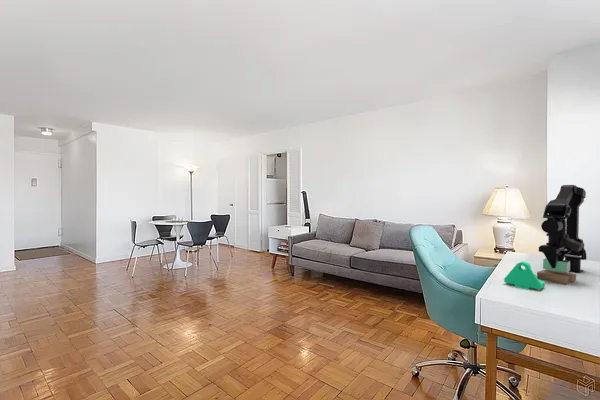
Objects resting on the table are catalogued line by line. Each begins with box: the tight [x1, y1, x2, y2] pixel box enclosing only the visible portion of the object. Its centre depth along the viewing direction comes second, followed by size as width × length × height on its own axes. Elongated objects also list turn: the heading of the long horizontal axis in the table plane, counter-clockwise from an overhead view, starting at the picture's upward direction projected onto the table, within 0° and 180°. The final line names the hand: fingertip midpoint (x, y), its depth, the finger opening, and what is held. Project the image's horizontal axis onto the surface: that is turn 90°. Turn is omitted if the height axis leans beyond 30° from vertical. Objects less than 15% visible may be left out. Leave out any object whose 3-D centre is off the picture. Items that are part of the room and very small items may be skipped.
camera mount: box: [503, 261, 546, 290], centre depth 122 cm, size 12×8×10 cm, turn 40°
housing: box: [542, 257, 571, 273], centre depth 130 cm, size 5×8×4 cm, turn 37°
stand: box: [536, 269, 577, 286], centre depth 130 cm, size 10×10×3 cm
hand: (556, 267), depth 130 cm, fingers closed on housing, 5 cm apart
